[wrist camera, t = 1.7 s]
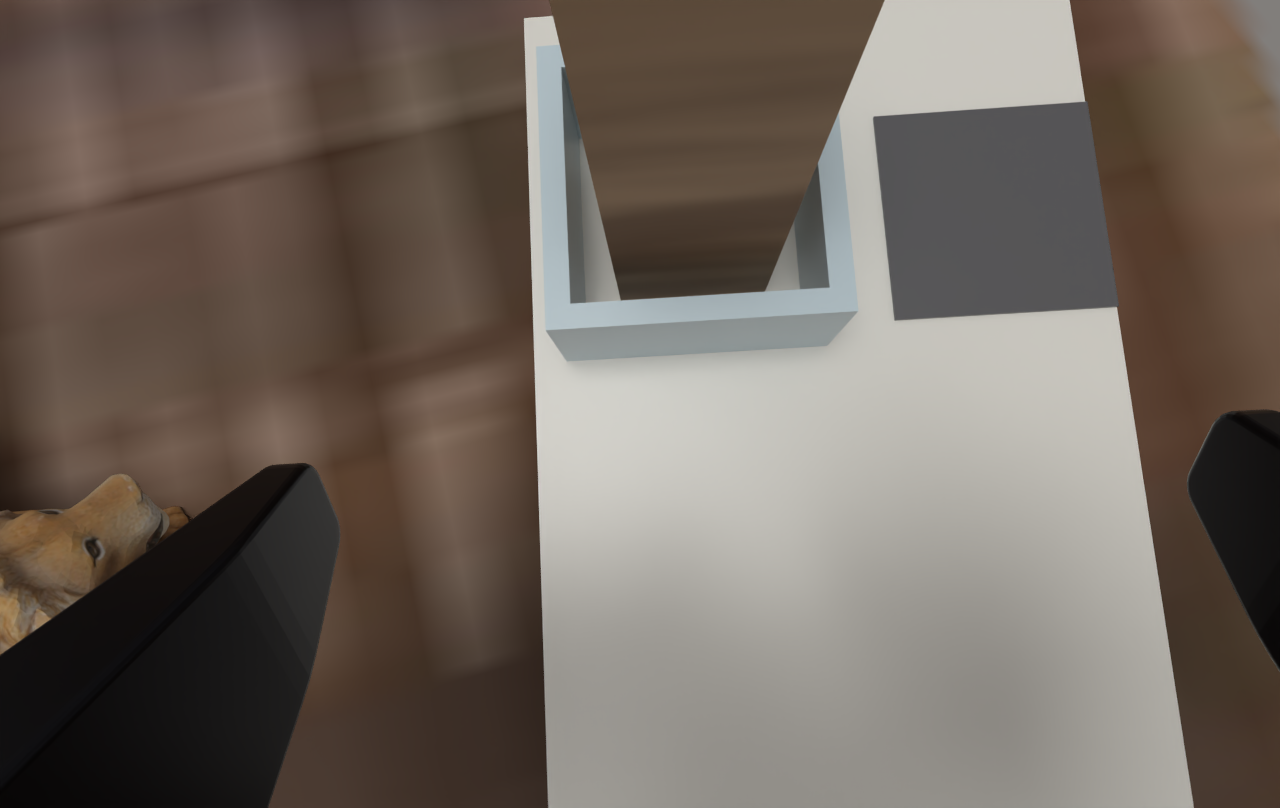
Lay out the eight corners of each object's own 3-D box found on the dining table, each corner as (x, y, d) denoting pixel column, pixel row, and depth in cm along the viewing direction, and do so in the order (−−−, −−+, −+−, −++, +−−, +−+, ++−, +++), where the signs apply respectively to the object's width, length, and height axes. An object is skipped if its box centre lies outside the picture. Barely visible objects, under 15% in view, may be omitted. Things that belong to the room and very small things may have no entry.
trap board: (1174, 844, 19) (1204, 863, 18) (556, 866, 20) (549, 886, 19) (1048, 0, 23) (1067, -26, 22) (530, 39, 23) (523, 16, 22)
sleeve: (826, 345, 20) (858, 311, 17) (566, 361, 21) (545, 330, 17) (804, 103, 22) (829, 24, 18) (557, 121, 22) (536, 46, 18)
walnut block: (764, 293, 21) (913, -71, 8) (621, 302, 21) (539, -41, 8) (753, 159, 21) (876, -382, 8) (614, 168, 21) (528, -350, 9)
